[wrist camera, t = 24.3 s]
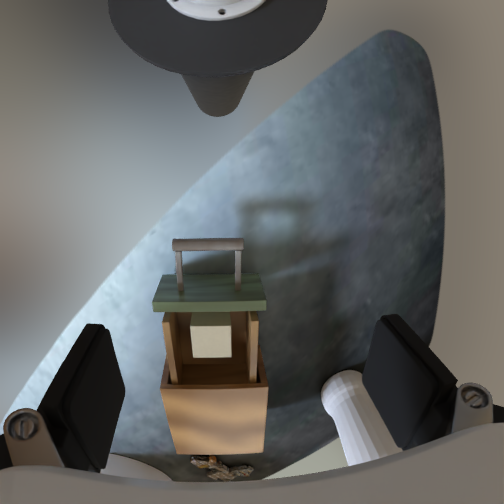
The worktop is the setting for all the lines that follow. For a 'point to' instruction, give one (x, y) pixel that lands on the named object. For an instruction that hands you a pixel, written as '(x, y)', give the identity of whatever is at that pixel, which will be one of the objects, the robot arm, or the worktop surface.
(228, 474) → the brown textured figure
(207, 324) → the block
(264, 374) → the cabinet
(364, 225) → the worktop surface
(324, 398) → the bottle
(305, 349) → the worktop surface
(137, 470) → the container
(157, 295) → the drawer
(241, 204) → the worktop surface
